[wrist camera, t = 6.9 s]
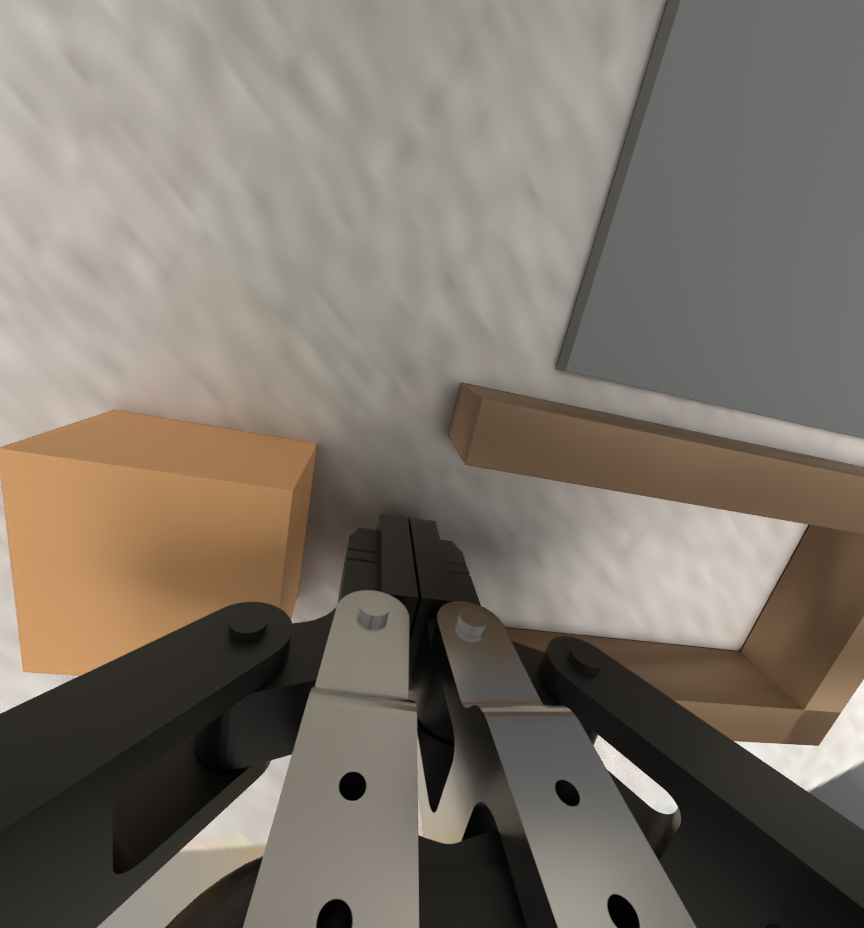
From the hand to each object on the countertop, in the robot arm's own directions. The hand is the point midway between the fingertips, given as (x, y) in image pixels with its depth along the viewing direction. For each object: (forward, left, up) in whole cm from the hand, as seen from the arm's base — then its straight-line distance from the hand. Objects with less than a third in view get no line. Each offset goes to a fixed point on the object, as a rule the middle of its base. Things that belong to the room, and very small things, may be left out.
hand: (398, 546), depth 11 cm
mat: (-11, +9, -1) cm, 14 cm away
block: (0, -5, -1) cm, 5 cm away
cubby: (0, +8, -1) cm, 8 cm away
